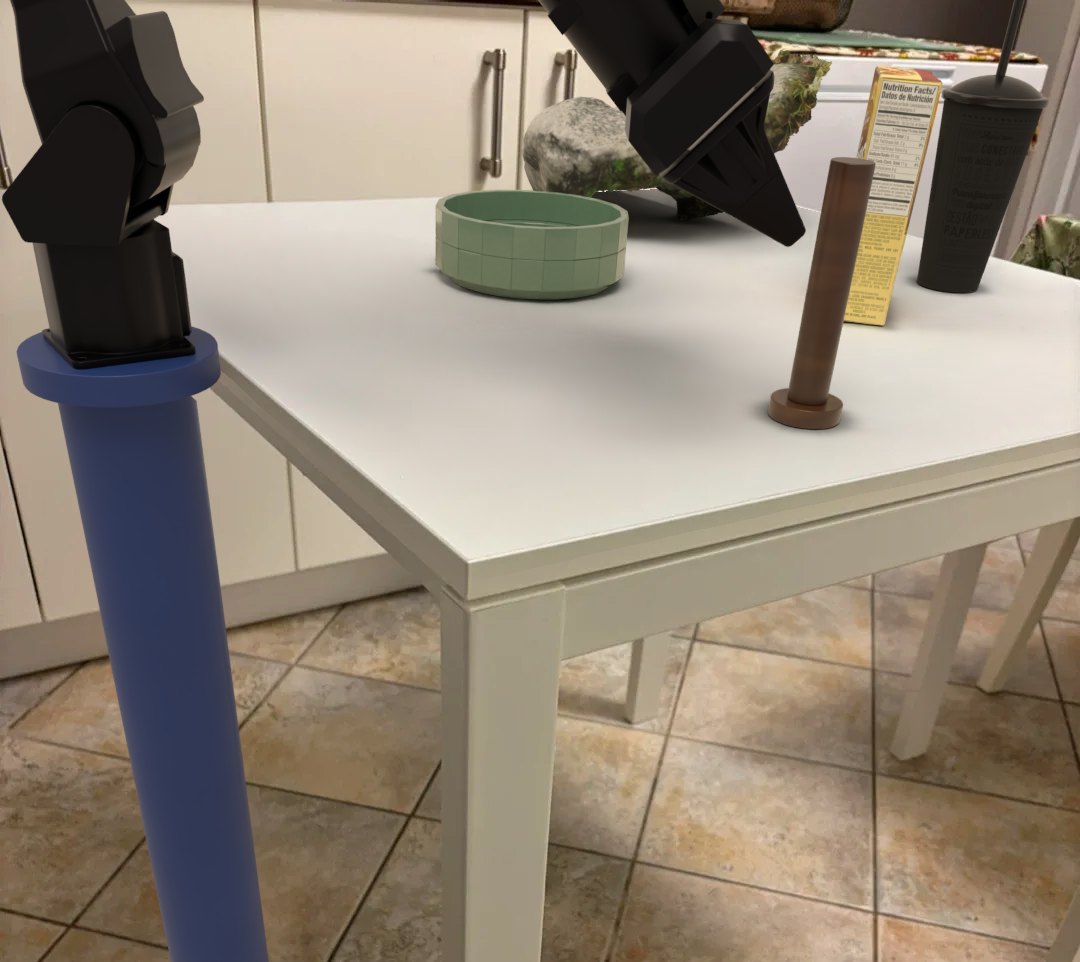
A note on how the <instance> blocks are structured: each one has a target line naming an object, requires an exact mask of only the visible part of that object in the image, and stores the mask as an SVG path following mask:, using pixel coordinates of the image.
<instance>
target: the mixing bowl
mask: <svg viewBox="0 0 1080 962" xmlns="http://www.w3.org/2000/svg"><path fill="white" fill-rule="evenodd" d="M629 220H630V216H629V212H628V210H626V209H625V208H623V207H622V206H620V205H618V204H616V203H612V202H609V201H606V200H603V199H600V198H594V197H585V196H580V195H573V194H565V193H557V192H548V191H533V189H532V190H531V189H485V190H472V191H471V190H469V191H464V192H458V193H451V194H448V195H447V196H443V197H441V198H439V199H438V200H437V202H436V204H435V266H436V267H437V268H438V269H439V271H440V272H441V273H443V274H444V275H447V276H449V277H450V278H449V279H451V281H452V282H453V283H455V284H456V285H459V286H461V287H462V288H466V289H468V290H471V291H474V292H477V293H482V294H486V295H491V296H496V297H503V298H510V299H522V300H543V301H544V300H551V301H552V300H569V299H578V298H583V297H585V298H586V297H589V296H593V295H596V294H599V293H601V292H603V291H605V290H607V289H608V287H609V286H610V285H612V284H615V283H617V282H618V281H619V280H621V279H622V278H623V277H624V275H625V274H624V273H625V266H626V265H625V263H626V253H627V242H628V230H629Z"/></svg>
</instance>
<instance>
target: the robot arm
mask: <svg viewBox="0 0 1080 962" xmlns="http://www.w3.org/2000/svg"><path fill="white" fill-rule="evenodd" d="M9 1H10V4H11V8H12V12H13V16H14V25H15V32H16V41H17V49H18V58H19V59H18V60H19V67H20V77H21V83H22V86H23V89H24V94H25V95H26V99H27V102H28V105H29V109H30V111H31V115H32V118H33V121H34V124H35V128H36V130H37V133H38V136H39V140H40V142H41V144H40V146H39V147H38V149H36V151H35V152H34V154H33V155H32V157H31V158H30V159H29V161H28V162H27V163H26V164H25V166H24V167H23V168H22V169H21V171H20V172H19V173H18V175H17V176H16V177H15V178H14V179H13V181H12V182H11V183H10V184H9V186H8V187H7V188H6V190H5V191H4V192H3V194H2V196H1V201H2V204H3V206H4V208H5V210H6V212H7V214H8V216H9V218H10V219H11V221H12V223H13V226H14V227H15V229H16V231H17V233H18V234H19V236H20V238H21V240H22V241H23V242H24V243H30V244H32V248H33V252H34V258H35V262H36V267H37V268H36V269H37V272H38V277H39V283H40V288H41V293H42V297H43V303H44V307H45V312H46V318H47V323H48V328H44V329H42V330H41V332H42V333H43V338H44V340H45V341H46V342H47V343H48V344H49V345H50V346H51V347H52V348H53V349H54V350H55V351H56V352H57V353H58V354H59V355H60V356H61V357H62V358H63V359H64V360H65V361H66V362H67V363H68V364H69V365H70V366H71V367H72V368H74V369H77V370H85V369H92V368H100V367H108V366H115V365H123V364H130V363H138V362H146V361H153V360H161V359H168V358H176V357H184V356H191V355H194V354H196V350H195V345H194V344H193V343H192V342H190V341H189V340H188V339H186V338H185V337H184V336H189V335H190V334H191V332H192V327H193V326H192V320H191V312H190V305H189V304H190V303H189V295H188V288H187V280H186V273H185V264H184V259H183V257H181V256H179V254H177V253H176V252H174V251H173V248H172V241H171V233H170V228H169V227H167V226H166V225H164V224H162V223H160V222H159V221H157V220H155V219H157V218H158V217H161V216H165V215H166V214H167V213H168V212H169V208H170V203H171V198H172V194H173V189H174V184H176V183H178V182H179V181H181V180H183V178H184V177H185V176H186V175H187V174H188V172H189V171H190V170H191V169H192V167H193V166H194V164H195V160H196V158H197V155H198V151H199V148H200V146H201V144H202V143H201V141H202V140H201V136H202V135H201V125H200V122H199V117H198V113H197V111H196V108H195V107H194V106H196V105H199V104H201V103H203V102H204V100H205V97H204V94H202V93H201V92H200V90H199V89H198V88H197V86H196V85H195V84H194V82H193V81H192V80H191V78H190V76H189V74H188V73H187V71H186V68H185V67H184V64H183V60H182V57H181V55H180V50H179V47H178V42H177V38H176V37H177V36H176V33H175V31H174V27H173V24H172V22H171V20H170V17H169V15H168V13H167V12H166V11H164V10H159V11H153V12H147V13H141V14H136V12H135V11H134V10H133V9H132V7H131V6H130V5H129V4H128V2H127V1H126V0H9ZM537 1H538V3H540V5H541V6H542V8H543V9H544V10H545V11H546V13H547V17H548V19H549V20H550V21H551V22H552V24H553V25H554V26H555V28H557V30H558V32H559V33H560V34H561V35H562V36H563V35H564V36H565V38H566V39H567V40H568V41H569V43H570V44H571V46H572V47H573V48H574V49H575V51H576V52H577V54H579V56H580V57H581V59H582V60H583V61H584V63H586V65H587V66H588V68H589V69H590V70H591V72H592V73H593V74H594V76H595V77H596V78H597V79H598V81H599V82H600V83H601V85H602V86H603V87H604V89H605V91H606V95H607V96H608V97H609V99H610V100H611V101H612V103H613V104H614V105H615V107H618V109H619V110H620V111H622V112H623V114H624V115H625V116H626V120H625V133H626V135H627V138H628V141H629V142H630V144H631V145H632V146H633V148H634V149H635V150H636V151H637V153H638V154H639V155H640V157H641V158H642V159H643V160H644V162H645V163H646V164H647V166H648V167H649V168H650V170H651V171H652V172H653V173H654V175H655V176H657V175H658V174H660V176H661V178H662V179H663V180H664V181H665V182H667V183H669V184H673V185H675V186H676V187H678V188H680V189H682V190H684V191H686V192H688V193H689V194H691V195H693V196H695V197H697V198H699V199H701V200H703V201H704V202H706V203H708V204H710V205H712V206H714V207H715V208H717V209H719V210H721V211H723V213H725V214H726V215H727V216H730V217H732V218H734V219H736V220H737V221H740V222H741V223H743V224H745V225H747V226H748V227H750V228H752V229H754V230H756V231H757V232H759V233H761V234H762V235H764V236H766V237H768V238H770V239H771V240H773V241H775V242H776V243H779V244H781V245H782V246H784V247H786V248H790V247H792V246H793V245H794V244H796V243H797V242H798V241H799V240H801V238H802V237H804V236H805V235H806V226H805V224H804V221H803V219H802V216H801V213H800V212H799V210H798V207H797V205H796V203H795V200H794V197H793V195H792V193H791V191H790V188H789V185H788V183H787V181H786V178H785V176H784V173H783V171H782V169H781V167H780V164H779V161H778V159H777V157H776V155H775V154H776V153H774V152H773V150H772V147H771V145H770V142H769V140H768V137H767V135H766V132H765V118H766V113H767V108H768V103H769V98H770V93H771V91H772V90H773V87H774V72H773V71H772V70H770V69H771V68H772V66H773V65H774V63H773V61H774V60H772V59H771V57H770V55H769V54H768V52H767V51H766V49H764V47H763V45H762V44H761V42H760V41H759V39H758V38H757V36H756V35H755V33H754V32H753V31H752V29H751V28H750V26H749V25H748V24H747V23H744V22H742V21H739V20H737V19H724V18H723V19H721V18H719V17H720V16H721V15H722V14H723V13H724V12H725V11H726V7H725V6H724V5H723V3H722V1H721V0H537ZM191 326H192V327H191Z"/></svg>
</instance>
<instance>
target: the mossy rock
mask: <svg viewBox="0 0 1080 962" xmlns="http://www.w3.org/2000/svg"><path fill="white" fill-rule="evenodd" d="M772 61H773V63H774V65H773V66H772V68H771V69H770V70H772V71H773V72H774V87H773V90H772V91H771V93H770V98H769V103H768V108H767V113H766V118H765V132H766V135H767V137H768V140H769V142H770V145H771V147H772V150H773V152H774V154H776V153H778V152H782V151H784V150H785V149H786V148H787V146H789V142H790V139H791V137H792V136H794V135H797V134H798V133H800V128H801V127H805V124H806V123H809V121H811V120H812V118H813V116H812V110H813V109H815V107H816V106H817V104H818V102H817V101H818V98H817V96H818V92H819V90H820V89H821V82H822V81H823V77H826V76H827V74H828V73H829V72H830V70H831V66H832V64H833V61H827V60H826V59H823V58H819V56H818V55H817V54H814V53H812V54H811V53H808V54H807V55H804V54H803V53H802V54H800V53H796V52H794V53H792V52H790V50H789V49H786V50H784V49H780V50H779V52H778V53H777V57H776V58H775V59H774V60H772ZM625 120H626V116H625V115H624V114H623V112H622V111H620V110H619V109H618V107H617V106H615V107H612V106H611V105H609V104H608V103H606V102H605V101H604V100H602V99H599V98H596V97H592V96H591V97H589V96H588V97H587V96H577V97H572V98H568V99H565V100H562V101H559V102H557V103H555V104H552V105H551V106H548V107H545V108H543V110H541V111H540V112H539V113H537V114H536V115H535V116H534V117H533V118H532V120H531V121H530V123H529V125H528V126H527V128H526V131H525V132H524V135H523V139H522V150H521V154H522V159H523V162H524V165H523V169H524V172H525V175H526V177H527V180H528V182H529V185H530V187H531V189H532V191H548V192H557V193H565V194H573V195H580V196H585V197H590V198H593V196H594V195H595V193H599V192H601V193H603V194H604V193H605V192H606V193H613V192H614V191H615V192H621V191H622V192H623V191H624V192H628V193H632V192H637V191H641V190H643V191H644V190H647V189H657V190H658V191H659V192H661V193H663V194H665V195H668V196H669V197H671V198H672V200H674V201H675V203H676V214H677V217H678V218H679V219H680V220H681V221H683V220H696V219H703V218H706V217H713V216H716V215H718V214H723V213H724V212H723V211H721V210H719V209H717V208H715V207H714V206H712V205H710V204H708V203H706V202H704V201H703V200H701V199H699V198H697V197H695V196H693V195H691V194H689V193H688V192H686V191H684V190H682V189H680V188H678V187H676V186H675V185H673V184H669V183H667V182H665V181H664V180H663V179H662V178H661V176H660V174H658V175H657V176H655V175H654V173H653V172H652V171H651V170H650V168H649V167H648V166H647V164H646V163H645V162H644V160H643V159H642V158H641V157H640V155H639V154H638V153H637V151H636V150H635V149H634V148H633V146H632V145H631V144H630V142H629V141H628V138H627V135H626V133H625Z"/></svg>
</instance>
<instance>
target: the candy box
mask: <svg viewBox="0 0 1080 962" xmlns="http://www.w3.org/2000/svg"><path fill="white" fill-rule="evenodd" d="M943 84H944V83H943V81H942V80H941V79H939V78H938V77H937V76H935V74H933V72H932V71H931V70H926V69H919V68H911V67H899V66H887V65H877V66H876V67H875V69H874V72H873V77H872V83H871V87H870V92H869V97H868V101H867V107H866V110H865V115H864V120H863V125H862V130H861V134H860V139H859V143H858V148H857V153H856V158H860V159H866V160H870V161H873V162H875V163H876V166H875V170H874V175H873V180H872V185H871V190H870V195H869V200H868V204H867V209H866V214H865V219H864V224H863V229H862V234H861V239H860V243H859V248H858V253H857V258H856V263H855V268H854V273H853V277H852V282H851V287H850V292H849V297H848V302H847V307H846V312H845V316H844V321H843V323H844V322H846V323H847V322H849V323H856V324H865V325H875V326H884V325H885V324H886V320H887V315H888V312H889V308H890V305H891V299H892V295H893V292H894V287H895V282H896V279H897V275H898V271H899V268H900V267H899V266H900V263H901V259H902V255H903V250H904V247H905V244H906V238H907V235H908V231H909V227H910V224H911V223H910V222H911V218H912V215H913V210H914V206H915V202H916V198H917V194H918V189H919V185H920V181H921V176H922V172H923V169H924V164H925V161H926V160H925V159H926V156H927V151H928V148H929V144H930V140H931V135H932V132H933V127H934V124H935V120H936V119H935V118H936V114H937V110H938V106H939V103H940V98H941V95H942V90H943Z"/></svg>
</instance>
